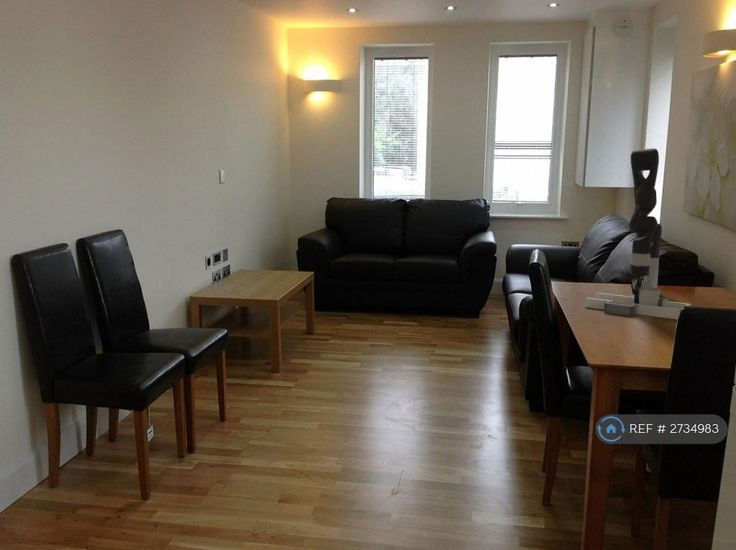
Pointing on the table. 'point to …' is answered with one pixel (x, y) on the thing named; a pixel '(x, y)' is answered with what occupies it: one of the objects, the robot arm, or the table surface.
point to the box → (634, 306)
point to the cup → (649, 296)
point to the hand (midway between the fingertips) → (636, 304)
